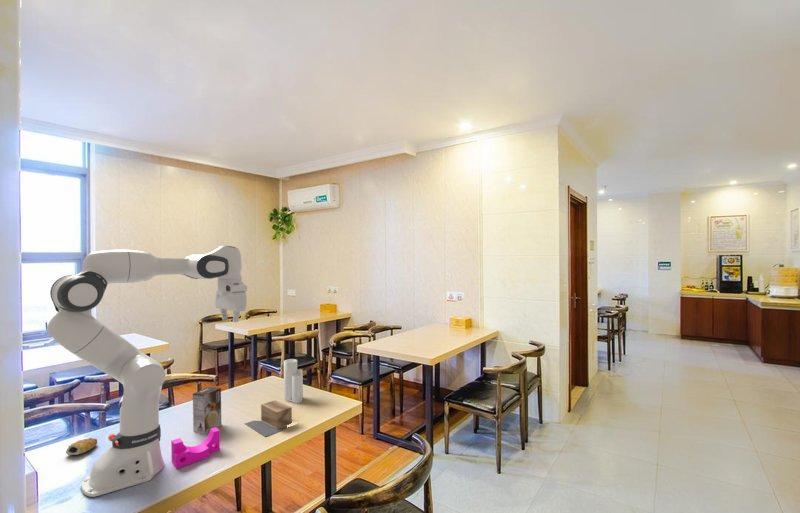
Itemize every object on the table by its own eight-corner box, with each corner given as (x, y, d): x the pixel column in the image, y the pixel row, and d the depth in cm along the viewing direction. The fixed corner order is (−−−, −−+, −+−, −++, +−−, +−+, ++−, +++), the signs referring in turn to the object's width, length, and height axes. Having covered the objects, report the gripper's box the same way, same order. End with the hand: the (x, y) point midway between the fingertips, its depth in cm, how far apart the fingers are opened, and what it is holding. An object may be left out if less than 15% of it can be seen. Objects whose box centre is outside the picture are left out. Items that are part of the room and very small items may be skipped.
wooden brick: (276, 429, 160) (276, 412, 160) (261, 420, 168) (261, 404, 168) (291, 423, 165) (291, 407, 165) (275, 415, 174) (275, 400, 174)
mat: (265, 437, 153) (265, 436, 153) (244, 424, 165) (244, 423, 165) (326, 414, 176) (326, 413, 176) (303, 404, 188) (303, 403, 188)
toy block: (176, 468, 131) (176, 446, 131) (171, 461, 136) (171, 440, 136) (222, 452, 142) (221, 432, 142) (216, 447, 146) (216, 427, 146)
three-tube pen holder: (281, 401, 192) (280, 361, 192) (291, 397, 198) (291, 358, 198) (297, 406, 186) (297, 364, 186) (308, 401, 192) (307, 361, 192)
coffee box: (210, 423, 167) (209, 386, 167) (221, 425, 165) (221, 387, 165) (192, 432, 158) (192, 393, 158) (204, 434, 156) (204, 394, 156)
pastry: (87, 443, 149) (86, 433, 149) (103, 443, 148) (102, 433, 148) (63, 456, 140) (63, 445, 140) (81, 456, 139) (80, 445, 139)
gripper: (210, 285, 159) (211, 319, 159) (233, 287, 145) (233, 324, 145) (226, 284, 163) (226, 317, 163) (249, 286, 150) (249, 322, 150)
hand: (230, 320), depth 154 cm, fingers open, 8 cm apart
